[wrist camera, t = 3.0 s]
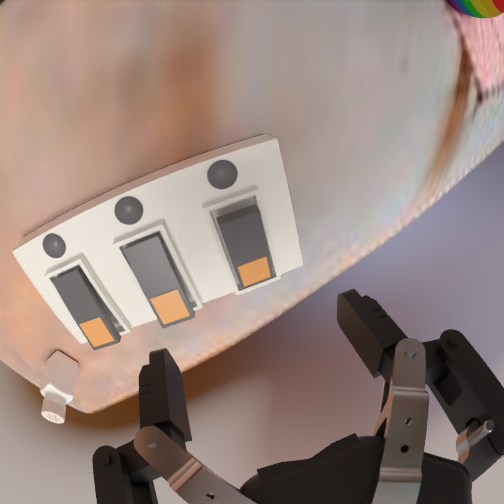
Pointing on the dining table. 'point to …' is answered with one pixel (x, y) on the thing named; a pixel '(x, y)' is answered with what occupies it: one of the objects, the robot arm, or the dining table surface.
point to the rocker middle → (159, 280)
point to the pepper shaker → (58, 386)
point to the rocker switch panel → (167, 231)
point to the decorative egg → (479, 7)
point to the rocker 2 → (246, 245)
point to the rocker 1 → (86, 308)
